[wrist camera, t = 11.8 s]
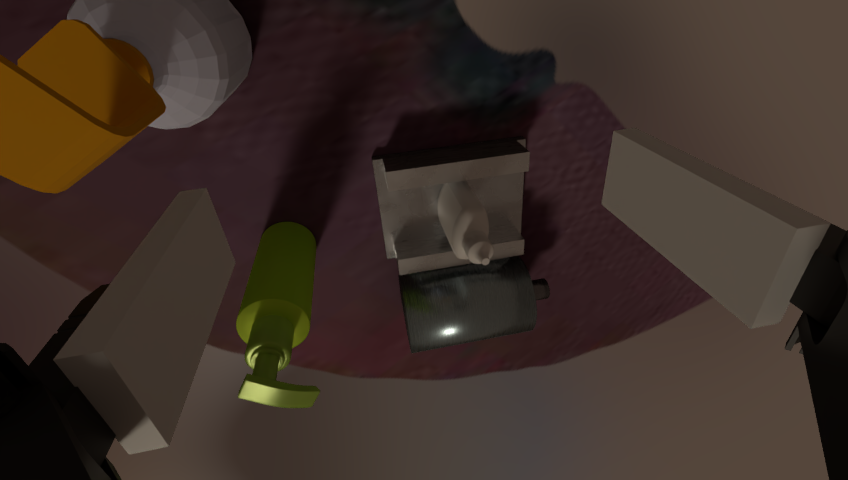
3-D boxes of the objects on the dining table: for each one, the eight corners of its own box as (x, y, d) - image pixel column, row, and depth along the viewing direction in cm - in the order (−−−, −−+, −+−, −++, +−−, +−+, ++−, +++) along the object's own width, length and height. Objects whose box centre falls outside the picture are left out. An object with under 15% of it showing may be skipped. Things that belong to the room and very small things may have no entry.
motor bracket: (371, 156, 42) (379, 194, 35) (540, 133, 44) (581, 164, 37) (396, 317, 54) (405, 372, 47) (528, 293, 56) (558, 342, 49)
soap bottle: (189, -51, 32) (-86, -115, 11) (276, 57, 36) (196, 153, 16) (105, 23, 33) (-279, 88, 12) (199, 117, 38) (34, 278, 17)
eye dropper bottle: (421, 212, 46) (446, 275, 35) (452, 170, 44) (486, 225, 34) (452, 229, 47) (484, 294, 37) (483, 190, 46) (525, 247, 35)
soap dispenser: (314, 275, 49) (301, 429, 32) (253, 257, 46) (205, 414, 29) (333, 235, 46) (331, 378, 30) (270, 213, 44) (229, 357, 27)
